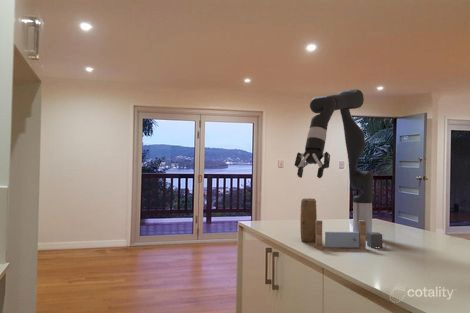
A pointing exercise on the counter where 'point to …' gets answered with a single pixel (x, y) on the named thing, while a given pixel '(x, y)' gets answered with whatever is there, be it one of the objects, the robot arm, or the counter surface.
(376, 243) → the gray rectangular block
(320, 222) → the frame
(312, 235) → the brown bread loaf
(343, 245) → the door
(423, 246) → the counter surface
